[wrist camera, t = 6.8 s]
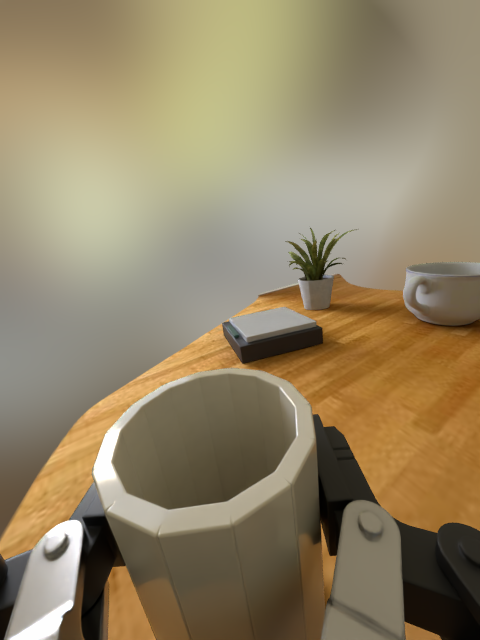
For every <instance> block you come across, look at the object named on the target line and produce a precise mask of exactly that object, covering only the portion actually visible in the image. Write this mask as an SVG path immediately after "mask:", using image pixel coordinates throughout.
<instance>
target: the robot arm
mask: <svg viewBox="0 0 480 640" xmlns="http://www.w3.org/2000/svg"><path fill="white" fill-rule="evenodd" d="M313 421H314V427H315V434H316V444H317V464H318V483H319V502H320V520H321V524H322V528H323V532H324V536H325V539H326V543H327V547H328V551H329V555H330V556H336V555H337V557H336V564H335V571H334V577H333V584H332V590H331V595H330V598H329V599H328V601H327V605H326V609H325V615H324V620H323V627H322V633H321V639H320V640H406V639H405V624H404V621H405V622H407V623H410V624H412V625H415V626H417V627H420V628H422V629H425V630H427V631H430V632H432V633H435V634H437V635H439V636H440V637H441V639H442V640H480V531H478V530H477V529H474V528H472V527H470V526H467V525H464V524H460V523H447V524H444V525H443V526H441V527H440V529H439V531H438V533H435V532H431V531H427V530H423V529H420V528H416V527H412V526H409V525H406V524H404V523H402V522H400V521H398V520H396V519H395V518H393V517H392V516H391V515H390V514H389V513H388V512H387V511H386V510H385V509H383V508H382V507H381V506H380V505H379V503H378V502H377V500H376V499H375V497H374V495H373V493H372V491H371V489H370V487H369V485H368V483H367V481H366V479H365V477H364V475H363V473H362V471H361V469H360V467H359V465H358V463H357V461H356V459H355V457H354V455H353V453H352V451H351V449H350V447H349V445H348V443H347V441H346V439H345V437H344V435H343V434H342V433H341V432H339V431H338V430H337V429H336V428H335V427H334V426H332V427H323V424H322V422H321V419H320V417H319V415H318V414H315V415H313ZM118 566H126V565H125V562H124V560H123V557H122V555H121V553H120V550H119V548H118V545H117V543H116V540H115V538H114V535H113V533H112V531H111V528H110V526H109V523H108V521H107V518H106V516H105V513H104V511H103V508H102V505H101V502H100V498H99V495H98V492H97V489H96V486H95V483H94V482H93V484H92V485H91V487H90V488H89V490H88V491H87V493H86V494H85V496H84V497H83V499H82V501H81V502H80V504H79V505H78V507H77V508H76V510H75V511H74V513H73V515H72V516H71V518H70V519H69V521H66V522H63V523H61V524H59V525H57V526H56V527H54V528H53V529H51V530H50V531H49V532H48V533H46V534H45V535H44V536H43V537H42V538H41V539H40V540H39V542H38V543H37V544H36V545H35V547H34V548H33V549H32V550H29V551H26V552H24V553H21V554H19V555H16V556H14V557H11V558H9V559H6V560H4V559H3V558H2V556H1V554H0V640H108V617H109V582H108V576H109V574H110V572H111V569H112V567H118Z"/></svg>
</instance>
